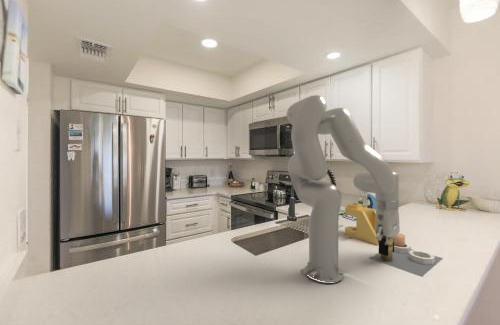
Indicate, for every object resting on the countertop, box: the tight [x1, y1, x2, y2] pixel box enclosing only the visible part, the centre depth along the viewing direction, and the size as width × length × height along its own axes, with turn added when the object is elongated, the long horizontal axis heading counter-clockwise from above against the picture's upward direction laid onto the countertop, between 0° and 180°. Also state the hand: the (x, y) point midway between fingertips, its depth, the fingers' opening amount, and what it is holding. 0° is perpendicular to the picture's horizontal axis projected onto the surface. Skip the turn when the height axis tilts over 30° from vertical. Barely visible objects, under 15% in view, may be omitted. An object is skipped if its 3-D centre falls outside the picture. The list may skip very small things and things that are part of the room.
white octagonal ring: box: [409, 249, 436, 265], centre depth 86 cm, size 7×7×2 cm
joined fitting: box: [394, 233, 412, 253], centre depth 96 cm, size 7×7×6 cm
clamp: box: [344, 202, 379, 247], centre depth 111 cm, size 20×9×16 cm, turn 26°
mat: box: [369, 248, 444, 277], centre depth 88 cm, size 22×17×1 cm
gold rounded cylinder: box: [380, 234, 393, 262], centre depth 87 cm, size 4×4×10 cm
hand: (386, 252), depth 87 cm, fingers closed on gold rounded cylinder, 4 cm apart
